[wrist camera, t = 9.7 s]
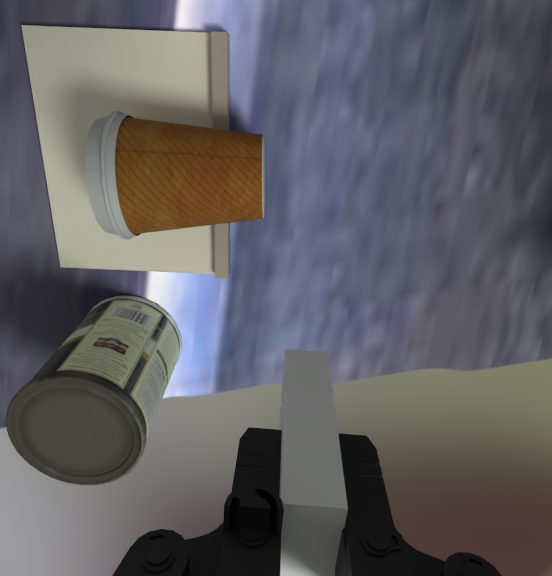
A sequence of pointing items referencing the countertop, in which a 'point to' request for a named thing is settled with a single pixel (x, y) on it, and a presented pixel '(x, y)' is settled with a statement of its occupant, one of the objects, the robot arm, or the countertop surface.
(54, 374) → the coffee can
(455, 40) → the countertop surface
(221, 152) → the disposable coffee cup
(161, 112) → the cream flat rectangular board
